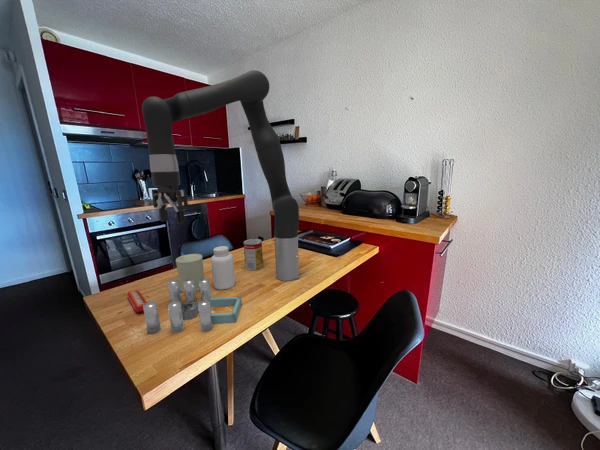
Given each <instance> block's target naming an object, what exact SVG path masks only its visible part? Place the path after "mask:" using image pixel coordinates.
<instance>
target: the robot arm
mask: <svg viewBox="0 0 600 450" xmlns="http://www.w3.org/2000/svg"><path fill="white" fill-rule="evenodd" d="M269 92H270V81H269V79H268V77H267V75H266V74H264V73H263V72H262V71H259V70H253V69H252V70H249V71H247V72H245V73H242V74H241V75H238V76H236V77H234V78H231V79H228V80H224V81H222V82H218V83H216V84H212V85H207V86H203V87H199V88H195V89H191V90H186V91H182V92H181V91H180V92H178V93H176V94H175V95H173V96H172V97H169V98H164V99H163V98H161V97H158V96H148V97H147V98H145V99H144V101H143V102H142V105H141V111H142V118H143V121H144V126H145V131H146V135H147V136H146V137H147V147H148V154H149V155H148V156H149V167H150V172H151V180H152V185H153V187H155V188H153V189H151V196H152V197H151V198H152V204H153V205H152V206H153V208H154V209H157V210H158V211H159V212H158V213H159V217H160V218H159V219H160V221H161V222H168V221H169V214H168V210H167V207H168V205H170V206H171V207H173V209H174V211H175V218H176V224H177V225H181V224H184V223H185V222H186V219H185V218H186V217H185V211H186V210H189V203H188V198H187V197H188V196H187V192H186V189H180V190H179V188H178V187H179V186H180V185H181V178H180V170H179V163H178V159H177V154H176V147H175V142H174V137H173V125H172V124H174V123H177V122H179V121H182V120H185V119H189V118H190V119H191V118H193V117H198V116H201V115H205V114H207V113H211V112H212V111H215V110H217V109H220V108H222V107H224V106H226V105H227V106H228V105H230V104H232V103H236V102H239V101H240V104H241V106H242V109H243V111H244V114H245V117H246V120H247V122H248V126H249V129H250V133H251V137H252V140H253V144H254V148H255V152H256V155H257V159H258V162H259V164H260V165H259V166H260V167H261V170H262V173H263V175H264V178H265V180H266V183H267V185H268V189H269V195H270V199H271V205H272V210H273V212H274V215H273V216H274V230H273V231H274V232H273V233H274V235H273V236H274V253H275V254H274V255H275V275H276V278H277V279H278V280H280V281H285V282H291V281H294V280H298V279H300V266H299V265H300V263H299V262H300V261H299V259H300V257H299V233H298V232H299V228H300V212H299V211H300V207H299V204H298V201H297V199H295V198H294V197H293V196H292V193H291V191H290V187H289V185H288V181H287V175H286V165H285V163H286V162H285V158H284V157H285V156H284V152H283V149H282V144H281V142H280V139H279V137H278V135H277V133H276V131H275V129H274V128H273V127H272V125H271V124H270V123H271V122H270V121H269V120H268V116H267V114H266V110H265V105H264V100H265V99H266V98H267V96H268V94H269ZM156 187H157V188H156Z"/></svg>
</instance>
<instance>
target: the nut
mask: <svg viewBox="0 0 600 450" xmlns="http://www.w3.org/2000/svg"><path fill="white" fill-rule="evenodd" d="M181 308H182V315H183V321H188V320H192V319H194V318H197V316H199V311H198V302H196V303H195V302H192V301H191V302H188V303H186V302H185V303H181Z"/></svg>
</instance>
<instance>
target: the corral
mask: <svg viewBox="0 0 600 450" xmlns="http://www.w3.org/2000/svg"><path fill="white" fill-rule="evenodd" d="M209 300H210V305H211V308H213V307H214V308H215V307H217V308H218V307H233V309H232V312H227V313H226V312H224V313H223V312H222V313H211V314H212V323H213V324H230V323H231V324H232V323H236V322H237V318H238V316H239V313H240V310H241V307H242V296H240V297H239V296H236V297H234V296H233V297H231V296H230V297H211V298H210V299H209Z"/></svg>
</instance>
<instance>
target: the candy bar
mask: <svg viewBox="0 0 600 450" xmlns="http://www.w3.org/2000/svg"><path fill="white" fill-rule="evenodd" d="M126 296H127V299H128V302H129V303H130V304H131V306H132V308H133V310H134V311H135V312H136V313H144V309H143V305H144V304H146V303H148V302H147V301H146V299H145V298H144V296H143V295H142V293H141V292H140V290H130V291H128V292H127V295H126Z"/></svg>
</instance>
